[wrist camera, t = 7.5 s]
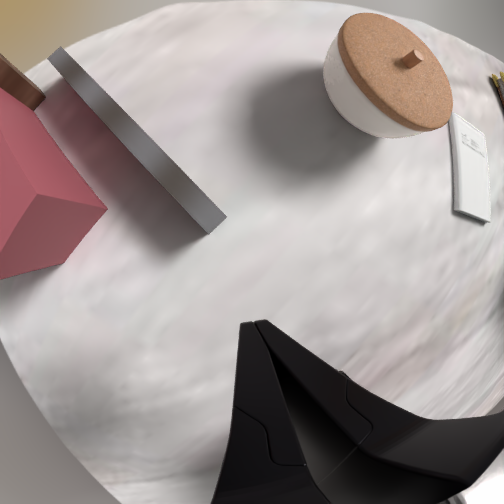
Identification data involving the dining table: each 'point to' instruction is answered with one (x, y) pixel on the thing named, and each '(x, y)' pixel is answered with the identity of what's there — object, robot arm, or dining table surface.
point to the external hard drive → (470, 169)
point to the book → (499, 85)
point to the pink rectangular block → (38, 195)
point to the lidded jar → (386, 79)
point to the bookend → (118, 133)
